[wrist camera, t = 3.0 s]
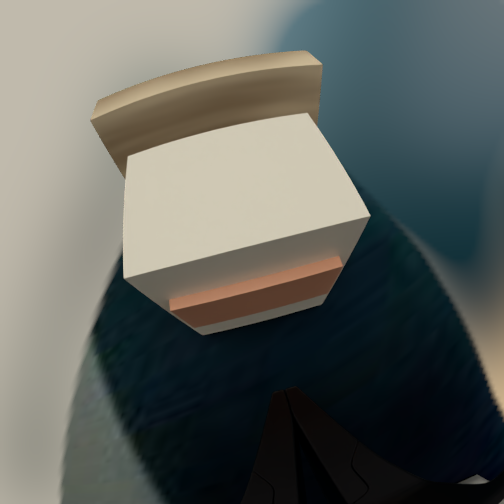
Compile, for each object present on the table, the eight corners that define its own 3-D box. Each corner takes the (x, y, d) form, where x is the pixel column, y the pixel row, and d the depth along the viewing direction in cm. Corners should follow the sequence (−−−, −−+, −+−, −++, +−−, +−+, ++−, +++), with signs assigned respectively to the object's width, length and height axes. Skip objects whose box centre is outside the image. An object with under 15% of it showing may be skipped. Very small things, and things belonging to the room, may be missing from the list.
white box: (324, 310, 15) (376, 227, 7) (204, 341, 15) (124, 292, 7) (295, 231, 17) (307, 112, 9) (189, 258, 17) (127, 156, 9)
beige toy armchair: (337, 272, 17) (396, 143, 7) (172, 315, 17) (62, 225, 7) (296, 176, 21) (302, 47, 11) (161, 210, 21) (99, 96, 11)
